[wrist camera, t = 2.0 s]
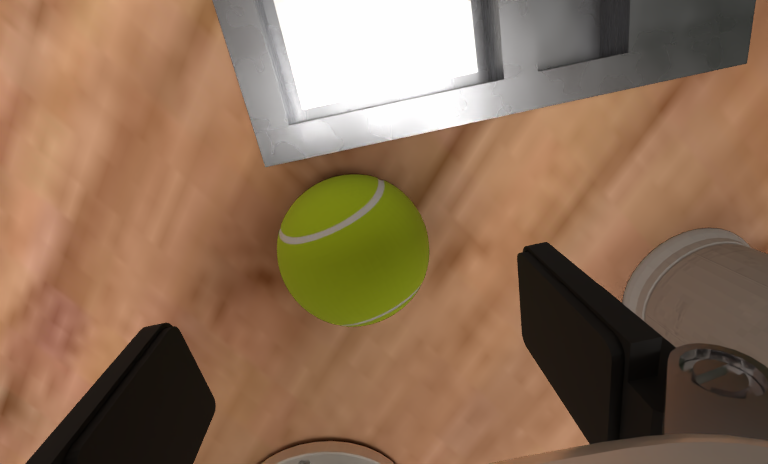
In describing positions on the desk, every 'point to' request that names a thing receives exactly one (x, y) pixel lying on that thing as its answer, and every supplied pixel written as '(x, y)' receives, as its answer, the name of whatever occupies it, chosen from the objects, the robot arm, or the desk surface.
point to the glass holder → (704, 292)
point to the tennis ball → (353, 250)
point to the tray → (454, 60)
